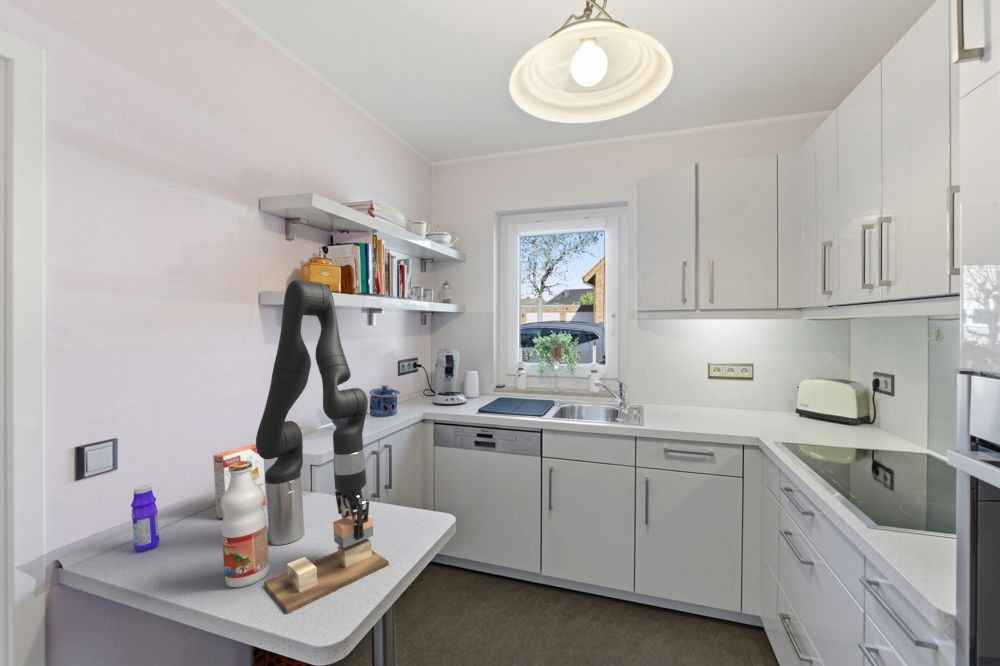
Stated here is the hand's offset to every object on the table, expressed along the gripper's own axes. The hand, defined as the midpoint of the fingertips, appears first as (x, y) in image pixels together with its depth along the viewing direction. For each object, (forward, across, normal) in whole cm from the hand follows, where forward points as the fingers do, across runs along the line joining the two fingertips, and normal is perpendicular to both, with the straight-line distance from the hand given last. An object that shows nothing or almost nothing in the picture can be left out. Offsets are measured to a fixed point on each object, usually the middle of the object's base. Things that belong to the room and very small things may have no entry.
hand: (353, 534), depth 111 cm
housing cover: (-2, 0, 0) cm, 2 cm away
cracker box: (+7, +62, +10) cm, 63 cm away
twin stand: (+7, 0, +7) cm, 10 cm away
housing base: (+1, 0, 0) cm, 1 cm away
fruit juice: (+7, +15, +20) cm, 26 cm away
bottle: (+7, +56, +36) cm, 67 cm away
